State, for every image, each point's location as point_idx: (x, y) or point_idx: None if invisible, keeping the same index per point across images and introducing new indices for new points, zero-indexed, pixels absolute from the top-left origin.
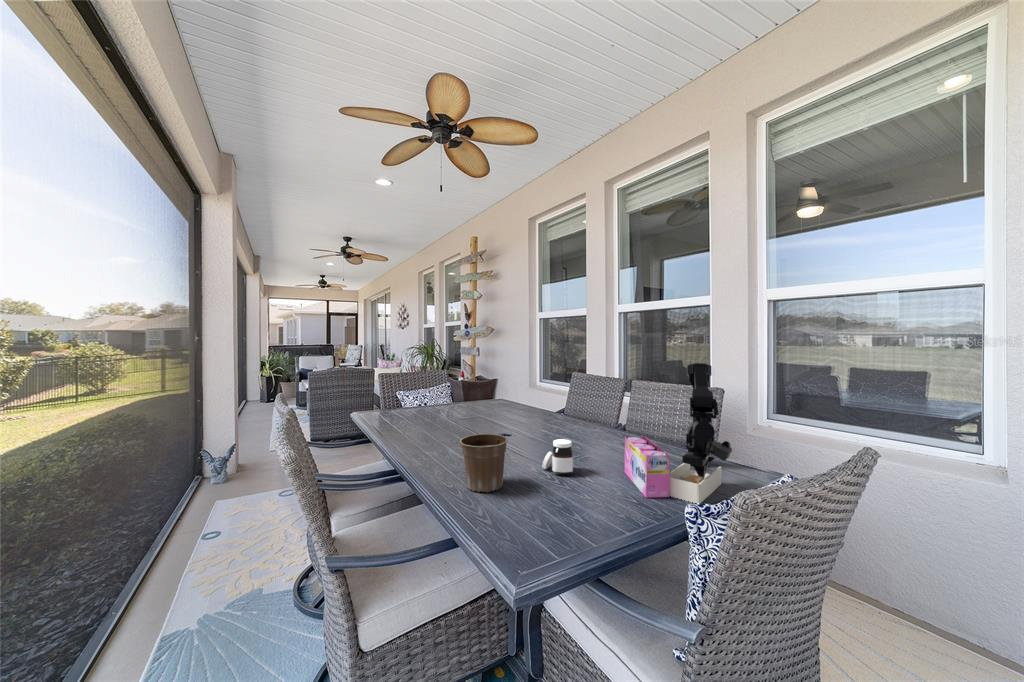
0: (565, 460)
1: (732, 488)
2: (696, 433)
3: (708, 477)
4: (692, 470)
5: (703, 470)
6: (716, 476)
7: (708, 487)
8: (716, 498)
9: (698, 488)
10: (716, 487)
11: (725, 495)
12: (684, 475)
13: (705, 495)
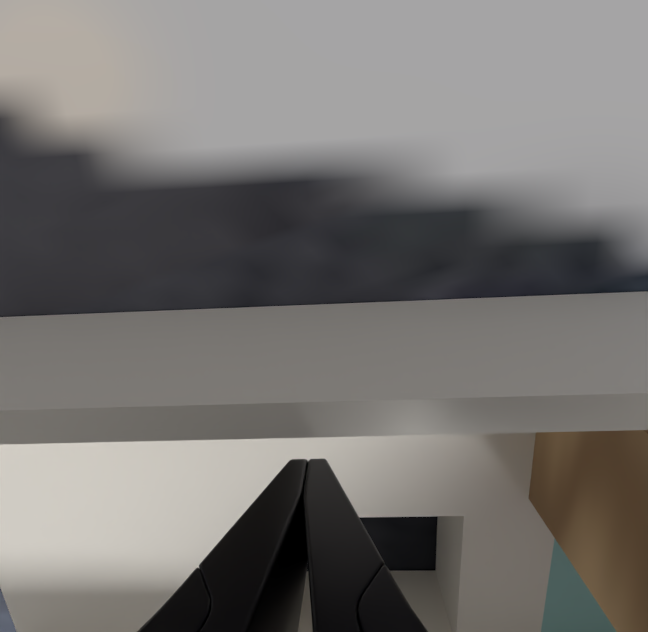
0: None
1: (15, 184)
2: None
3: (536, 395)
4: (27, 623)
5: (392, 593)
6: (78, 362)
7: (458, 327)
8: (436, 215)
9: None
10: (158, 313)
11: (279, 170)
12: None
13: (545, 304)
